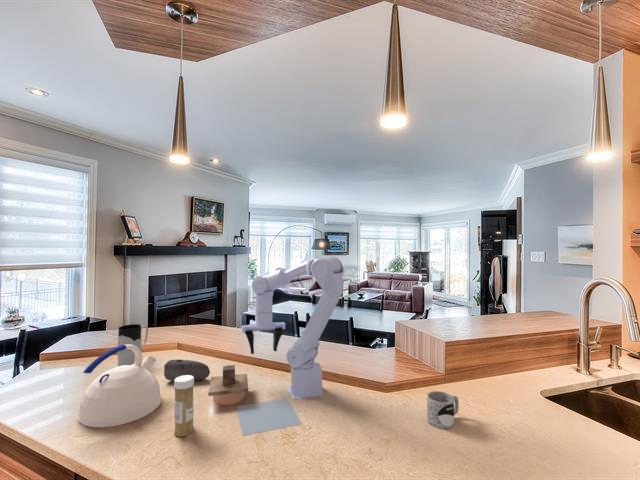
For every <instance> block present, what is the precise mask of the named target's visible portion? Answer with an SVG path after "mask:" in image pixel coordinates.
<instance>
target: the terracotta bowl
mask: <svg viewBox="0 0 640 480" xmlns="http://www.w3.org/2000/svg"><path fill="white" fill-rule="evenodd" d="M245 393H246V392H242V393H232V394H223V395H214V396H212V401H213V403H214V404H216V405H218V406H219V405H220V406H230V405H235V404H237V403H240V402H241V401H243V400H244V398H245V397H246V395H245Z"/></svg>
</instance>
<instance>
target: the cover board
mask: <svg viewBox="0 0 640 480" xmlns="http://www.w3.org/2000/svg"><path fill="white" fill-rule="evenodd" d="M248 382H249V381H248V373H240V374H236V365H235V364H231V365H223V366H222V375H220V376H219V375H217V376H211V377H210V382H209V387H208V392H207V393H208V397H213V396H214V395H223V394H232V393H242V392H245V393H249V383H248Z"/></svg>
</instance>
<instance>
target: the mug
mask: <svg viewBox="0 0 640 480" xmlns="http://www.w3.org/2000/svg"><path fill="white" fill-rule="evenodd" d="M459 407H460V404H459V397H458V396H457V395H451V394H449V393H447V392H444V391H437V390H435V391H434V390H433V391H430V392H428V393H427V394H426V421H427V423H428V424H429V425H430V426H431V427H433V428H436V429H439V430H450V429H452V428H453V427H455V416H456V415H457V414H458V413H459V409H460V408H459Z"/></svg>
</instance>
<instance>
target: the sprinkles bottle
mask: <svg viewBox="0 0 640 480" xmlns="http://www.w3.org/2000/svg"><path fill="white" fill-rule="evenodd" d="M173 384H174V385H173V387H174V430H173V431H174V435H175V436H177V437H180V438H182V437H186V436H187V435H189V434H191V433H192V432H193V431H194V430H195V429H194V428H195V427H194V386H195V381H194V377H193V376H191V375H183V376H179V377H177V378H176V379H175V380H174V381H173Z"/></svg>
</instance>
